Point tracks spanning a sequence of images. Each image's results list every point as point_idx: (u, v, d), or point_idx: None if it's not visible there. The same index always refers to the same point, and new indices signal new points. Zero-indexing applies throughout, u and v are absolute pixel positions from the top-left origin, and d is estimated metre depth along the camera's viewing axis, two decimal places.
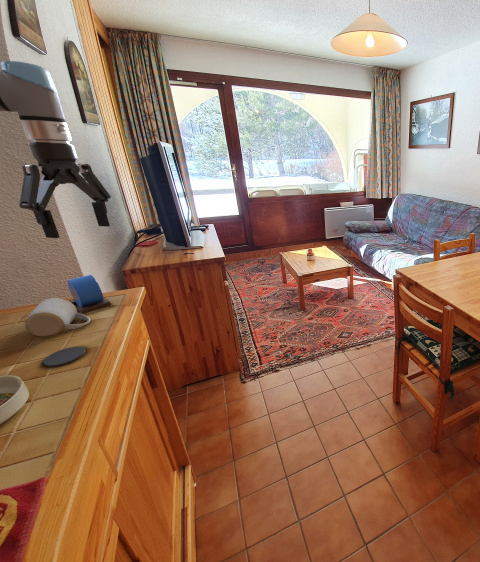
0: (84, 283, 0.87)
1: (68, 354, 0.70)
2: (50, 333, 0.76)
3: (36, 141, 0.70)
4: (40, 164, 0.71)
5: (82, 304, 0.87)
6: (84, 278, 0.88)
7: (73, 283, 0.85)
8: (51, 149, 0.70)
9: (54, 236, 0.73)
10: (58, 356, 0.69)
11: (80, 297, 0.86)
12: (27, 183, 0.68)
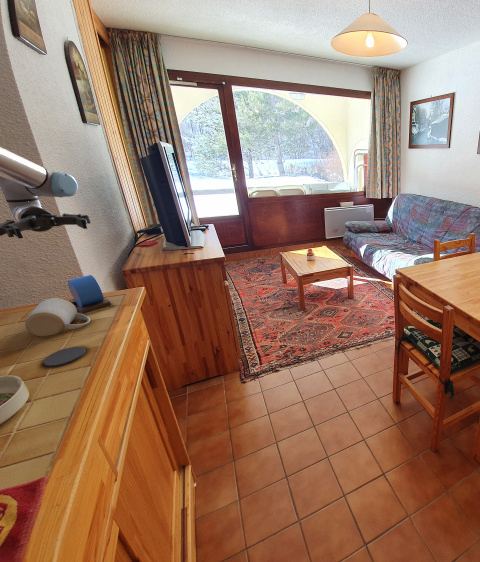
0: (85, 284, 0.87)
1: (68, 354, 0.70)
2: (50, 333, 0.76)
3: None
4: None
5: (82, 304, 0.87)
6: (84, 278, 0.88)
7: (73, 283, 0.85)
8: None
9: None
10: (58, 356, 0.69)
11: (80, 297, 0.86)
12: None
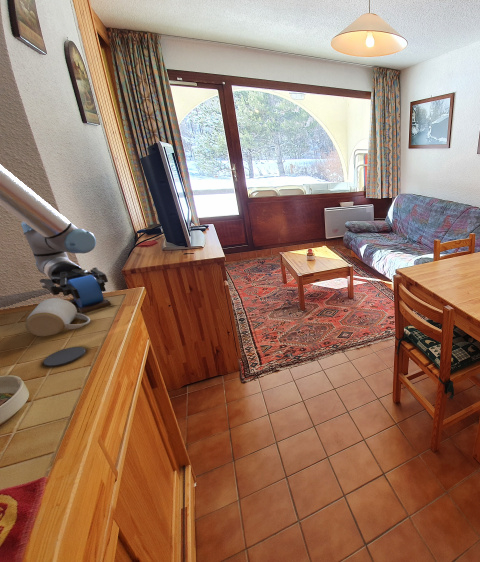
0: (85, 284, 0.87)
1: (68, 354, 0.70)
2: (50, 333, 0.76)
3: None
4: (84, 271, 0.98)
5: (82, 304, 0.87)
6: (84, 278, 0.88)
7: (73, 283, 0.85)
8: None
9: None
10: (58, 356, 0.69)
11: (80, 298, 0.86)
12: None
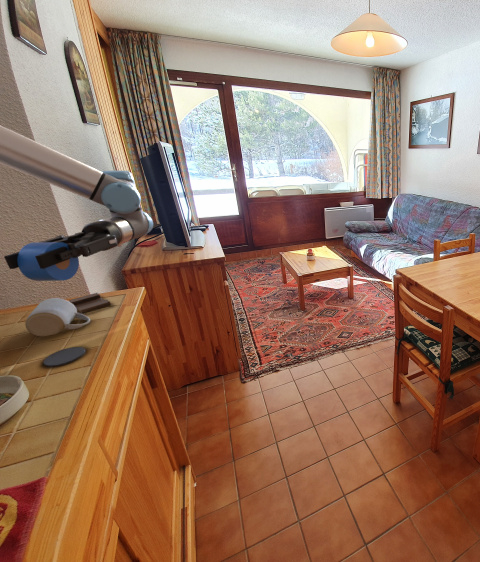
0: (31, 252, 0.64)
1: (68, 354, 0.70)
2: (50, 333, 0.76)
3: None
4: None
5: (29, 278, 0.65)
6: (40, 245, 0.65)
7: (22, 248, 0.64)
8: (116, 244, 0.83)
9: (45, 266, 0.63)
10: (58, 356, 0.69)
11: (20, 269, 0.64)
12: (102, 244, 0.74)
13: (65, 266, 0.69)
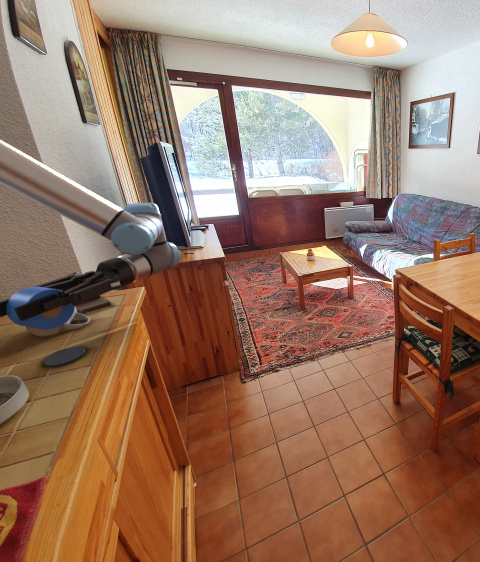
0: (17, 301, 0.61)
1: (68, 354, 0.70)
2: (50, 333, 0.76)
3: (133, 272, 0.79)
4: (116, 278, 0.75)
5: (19, 324, 0.63)
6: (29, 293, 0.62)
7: (13, 295, 0.61)
8: (129, 283, 0.79)
9: (24, 318, 0.59)
10: (58, 356, 0.69)
11: (9, 316, 0.61)
12: (100, 289, 0.69)
13: (55, 314, 0.65)
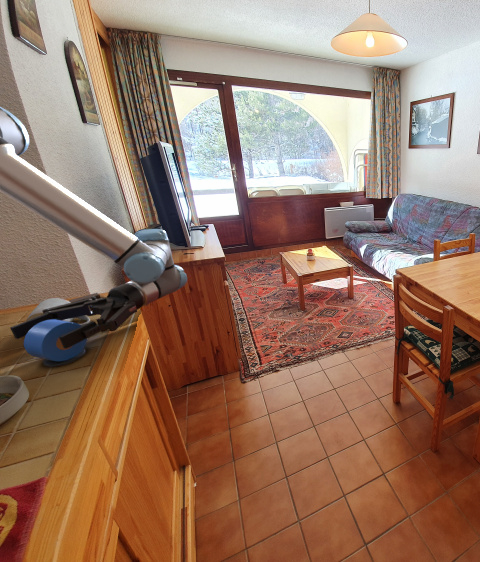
0: (35, 335, 0.64)
1: None
2: None
3: (142, 297, 0.83)
4: (126, 304, 0.78)
5: (35, 356, 0.66)
6: (45, 327, 0.65)
7: (31, 329, 0.65)
8: (138, 308, 0.82)
9: (67, 345, 0.63)
10: None
11: (26, 349, 0.64)
12: (125, 314, 0.74)
13: None
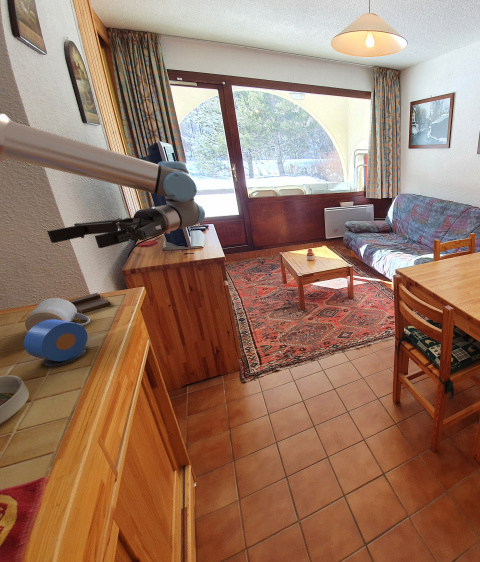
0: (35, 335, 0.64)
1: None
2: None
3: (165, 222, 0.87)
4: None
5: (35, 356, 0.66)
6: (46, 327, 0.65)
7: (31, 329, 0.65)
8: (161, 232, 0.87)
9: (102, 245, 0.68)
10: None
11: (26, 349, 0.64)
12: (152, 229, 0.78)
13: (69, 345, 0.68)
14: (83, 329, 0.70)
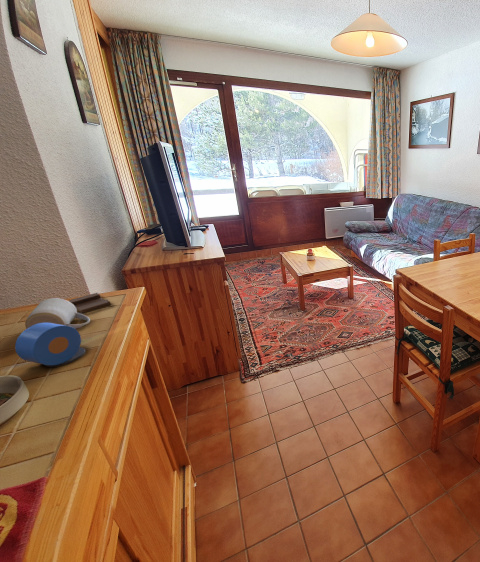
0: (23, 345, 0.62)
1: None
2: None
3: None
4: None
5: None
6: (31, 336, 0.63)
7: (18, 339, 0.63)
8: None
9: None
10: None
11: (22, 358, 0.64)
12: None
13: (64, 348, 0.67)
14: (72, 329, 0.68)
